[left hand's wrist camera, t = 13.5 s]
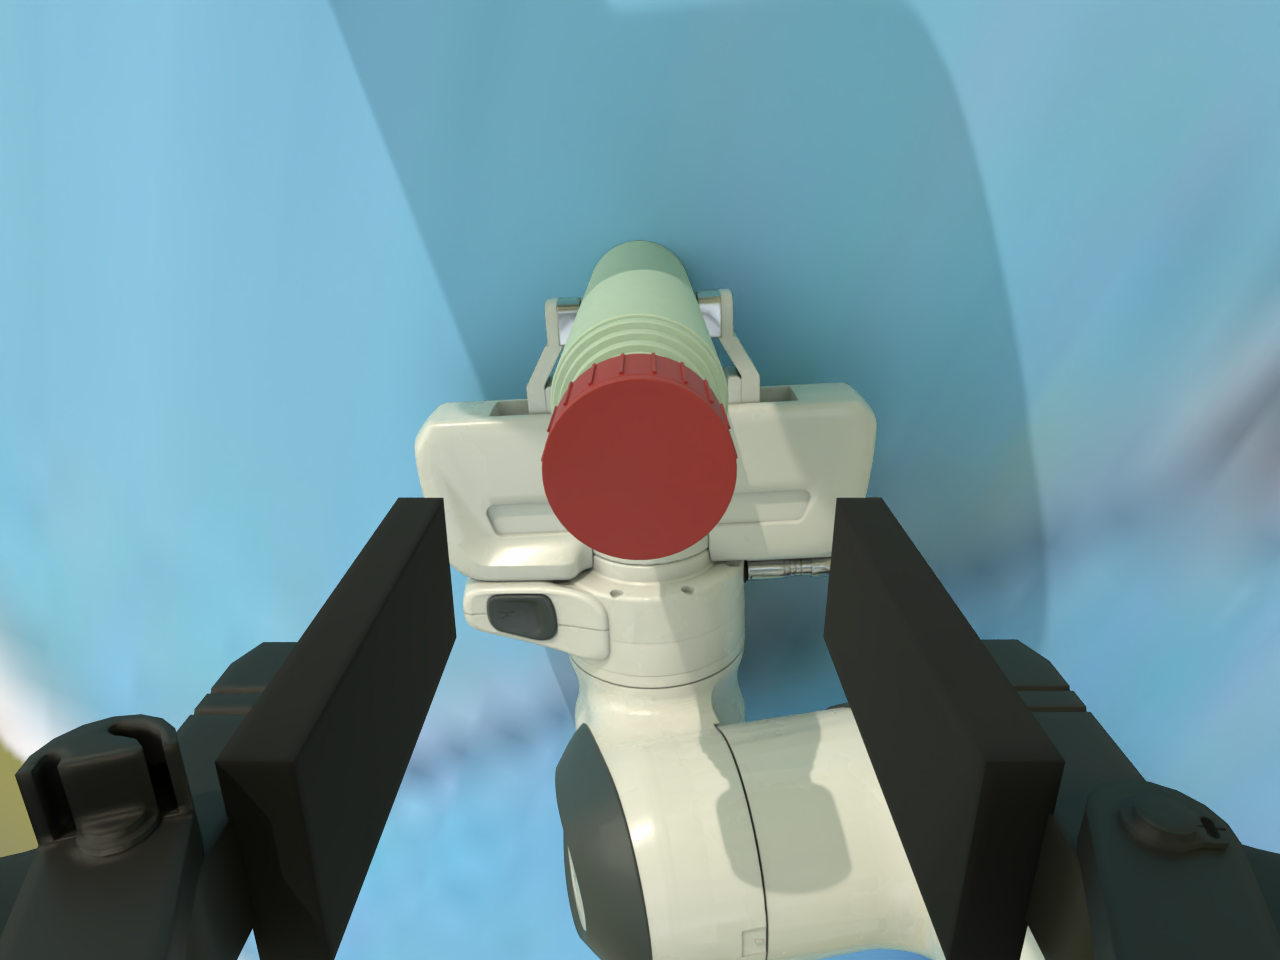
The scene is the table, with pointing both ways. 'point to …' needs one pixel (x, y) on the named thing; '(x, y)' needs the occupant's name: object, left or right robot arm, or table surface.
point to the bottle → (639, 318)
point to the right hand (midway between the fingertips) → (637, 295)
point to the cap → (639, 458)
